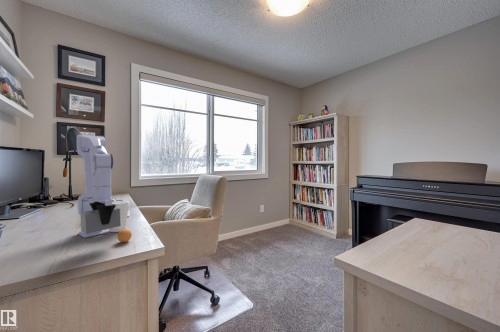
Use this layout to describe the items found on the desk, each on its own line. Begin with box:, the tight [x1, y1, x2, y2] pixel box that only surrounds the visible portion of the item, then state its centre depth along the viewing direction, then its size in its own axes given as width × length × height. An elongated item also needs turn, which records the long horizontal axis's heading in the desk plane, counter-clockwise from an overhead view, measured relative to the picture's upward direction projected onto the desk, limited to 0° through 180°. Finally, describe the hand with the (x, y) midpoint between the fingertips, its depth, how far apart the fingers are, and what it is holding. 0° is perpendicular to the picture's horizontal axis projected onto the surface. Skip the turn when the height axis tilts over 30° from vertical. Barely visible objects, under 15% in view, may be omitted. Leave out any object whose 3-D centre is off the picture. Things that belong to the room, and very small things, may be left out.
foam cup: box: [108, 200, 131, 233], centre depth 99 cm, size 10×9×13 cm
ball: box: [116, 228, 133, 243], centre depth 84 cm, size 5×5×5 cm
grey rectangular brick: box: [79, 207, 121, 234], centre depth 78 cm, size 6×11×7 cm, turn 141°
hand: (102, 222), depth 79 cm, fingers closed on grey rectangular brick, 6 cm apart
